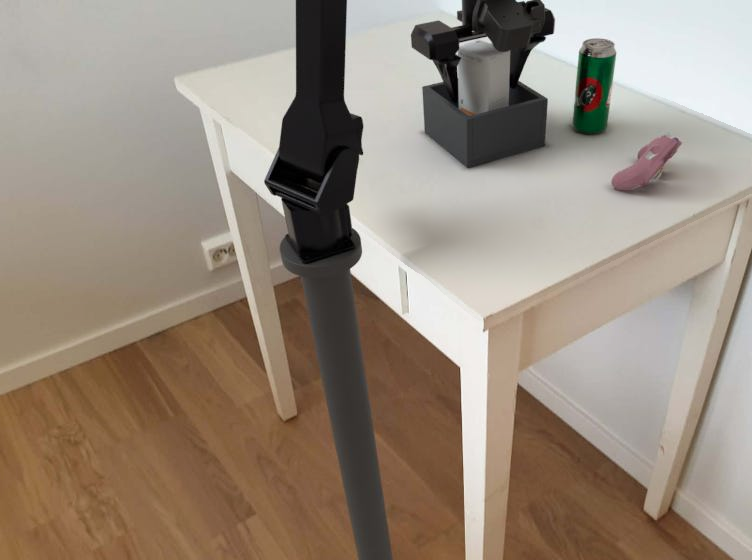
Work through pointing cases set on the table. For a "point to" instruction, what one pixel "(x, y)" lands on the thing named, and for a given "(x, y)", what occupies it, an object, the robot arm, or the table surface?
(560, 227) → the table surface
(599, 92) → the soda can
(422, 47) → the robot arm
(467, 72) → the cosmetic box
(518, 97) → the dark grey open bin
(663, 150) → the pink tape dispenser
